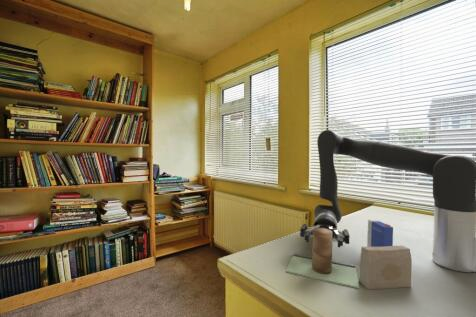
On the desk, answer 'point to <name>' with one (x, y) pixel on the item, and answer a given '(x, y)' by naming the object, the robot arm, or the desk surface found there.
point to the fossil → (385, 267)
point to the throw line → (332, 260)
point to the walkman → (379, 234)
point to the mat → (337, 275)
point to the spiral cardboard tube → (322, 251)
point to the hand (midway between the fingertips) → (322, 241)
